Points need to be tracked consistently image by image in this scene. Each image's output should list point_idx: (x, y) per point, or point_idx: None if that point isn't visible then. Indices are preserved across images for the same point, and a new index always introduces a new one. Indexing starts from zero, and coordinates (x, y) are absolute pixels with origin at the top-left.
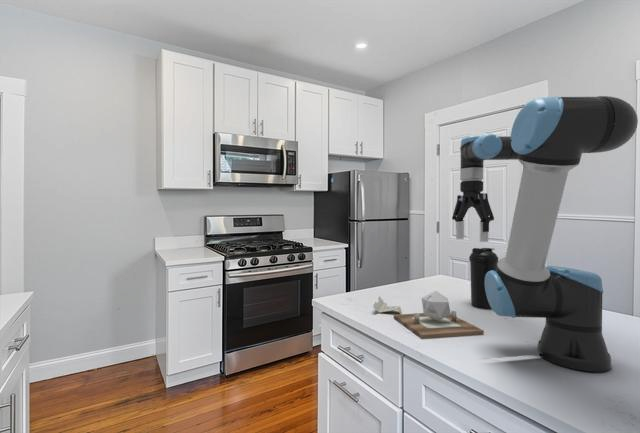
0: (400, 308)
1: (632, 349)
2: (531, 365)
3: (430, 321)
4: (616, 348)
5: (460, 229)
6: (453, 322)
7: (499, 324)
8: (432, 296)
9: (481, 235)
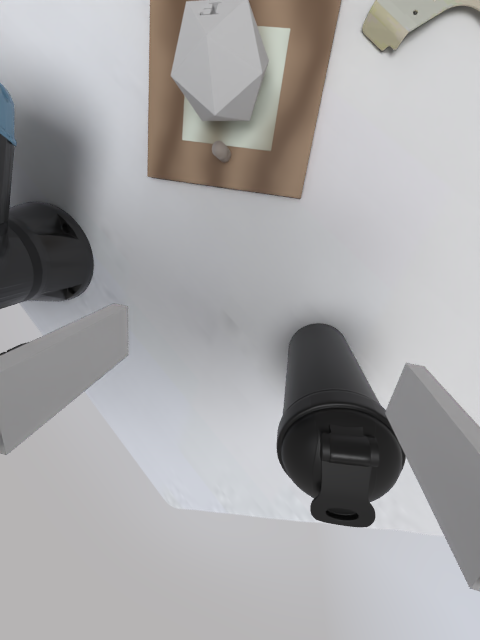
0: (395, 44)
1: None
2: (14, 136)
3: None
4: None
5: (433, 449)
6: (212, 141)
7: (198, 271)
8: (200, 14)
9: (83, 321)
